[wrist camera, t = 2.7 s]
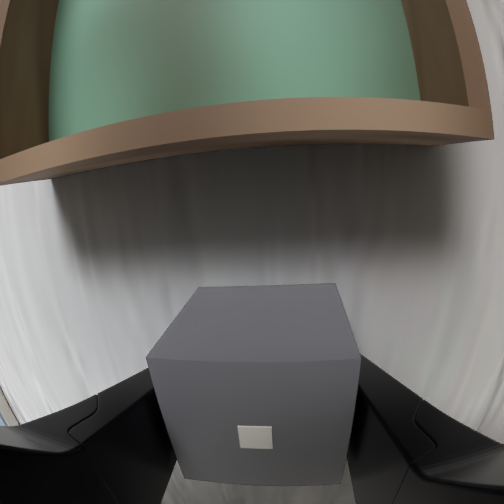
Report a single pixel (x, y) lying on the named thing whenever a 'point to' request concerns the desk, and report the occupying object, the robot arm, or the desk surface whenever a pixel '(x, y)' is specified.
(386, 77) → the dice tray
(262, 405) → the die
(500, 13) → the desk surface
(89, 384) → the desk surface
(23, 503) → the robot arm
